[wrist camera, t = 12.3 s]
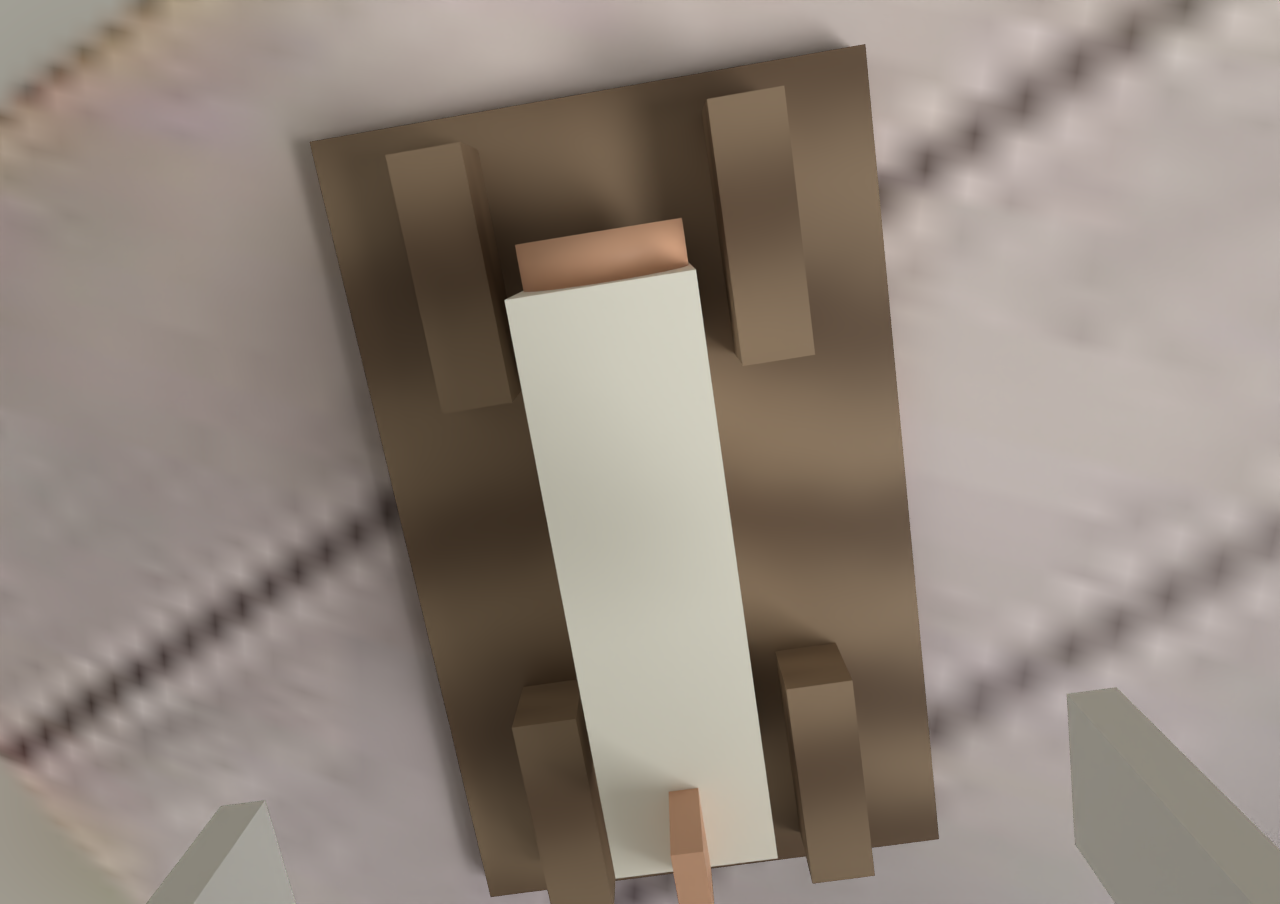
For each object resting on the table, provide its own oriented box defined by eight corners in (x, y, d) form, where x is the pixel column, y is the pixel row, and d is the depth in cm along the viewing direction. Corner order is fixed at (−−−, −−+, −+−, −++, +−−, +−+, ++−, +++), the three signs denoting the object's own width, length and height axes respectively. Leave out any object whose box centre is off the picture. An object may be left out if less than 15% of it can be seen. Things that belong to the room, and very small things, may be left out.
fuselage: (753, 736, 30) (792, 928, 22) (622, 753, 30) (611, 949, 22) (680, 218, 26) (693, 215, 18) (529, 242, 26) (473, 250, 18)
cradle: (930, 820, 32) (963, 890, 29) (495, 877, 33) (477, 952, 29) (857, 51, 26) (888, 24, 22) (322, 145, 27) (273, 133, 23)
